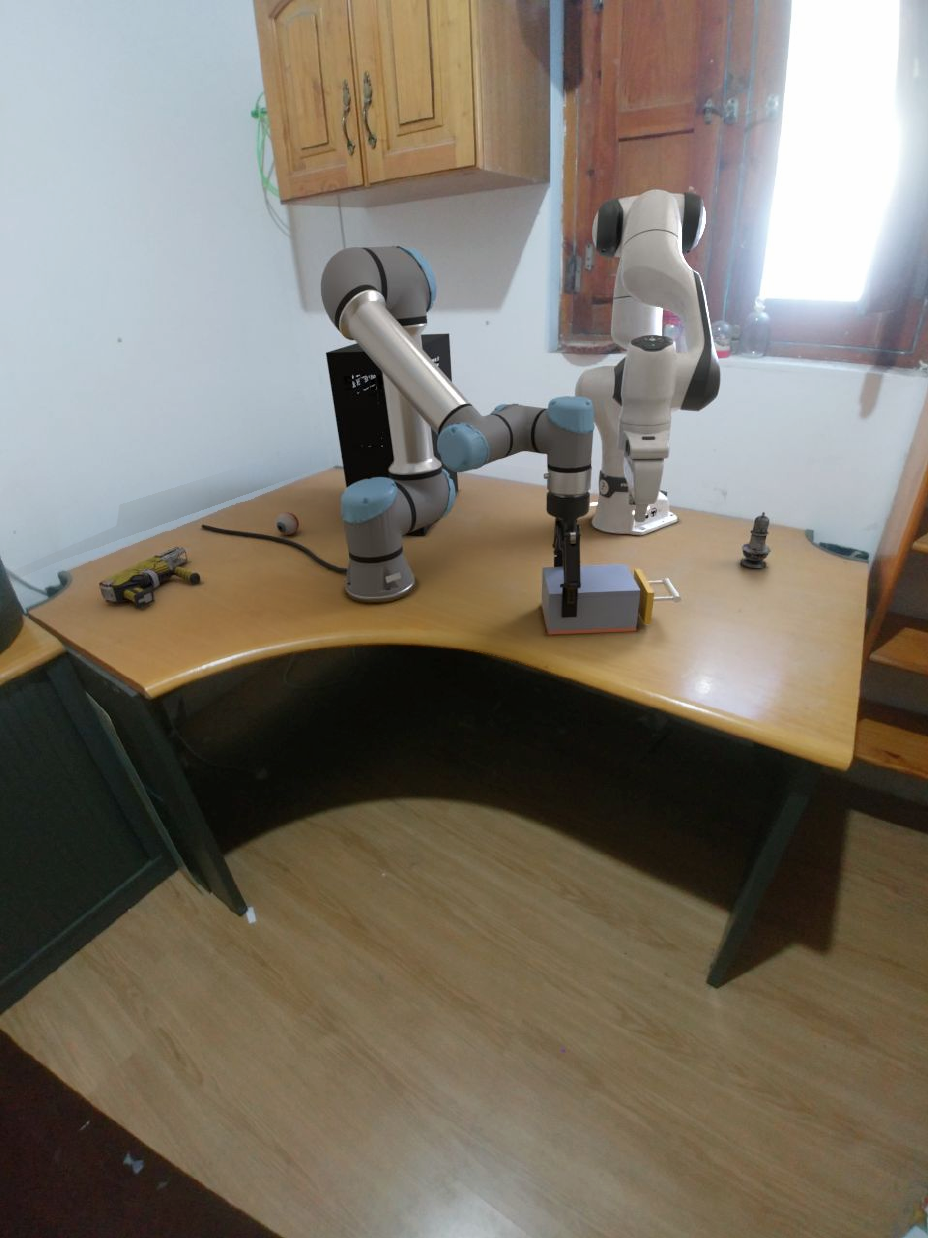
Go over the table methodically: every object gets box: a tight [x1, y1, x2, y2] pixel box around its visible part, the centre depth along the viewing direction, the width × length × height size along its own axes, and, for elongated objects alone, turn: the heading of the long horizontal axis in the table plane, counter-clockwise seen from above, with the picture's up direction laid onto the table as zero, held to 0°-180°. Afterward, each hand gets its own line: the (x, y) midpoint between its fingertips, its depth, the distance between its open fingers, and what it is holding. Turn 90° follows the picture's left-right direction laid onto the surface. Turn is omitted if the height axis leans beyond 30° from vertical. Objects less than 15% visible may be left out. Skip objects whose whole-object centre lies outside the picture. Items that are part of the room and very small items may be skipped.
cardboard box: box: [325, 333, 459, 536], centre depth 166 cm, size 38×20×45 cm, turn 167°
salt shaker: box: [739, 511, 772, 569], centre depth 132 cm, size 6×6×12 cm
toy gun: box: [98, 546, 201, 609], centre depth 140 cm, size 5×24×15 cm
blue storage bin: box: [541, 563, 640, 636], centre depth 116 cm, size 16×11×9 cm
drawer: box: [633, 568, 682, 626], centre depth 116 cm, size 21×10×7 cm, turn 90°
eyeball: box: [275, 511, 300, 536], centre depth 163 cm, size 6×6×6 cm
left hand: (564, 600), depth 116 cm, fingers closed on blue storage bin, 11 cm apart
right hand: (635, 512), depth 113 cm, fingers open, 8 cm apart
